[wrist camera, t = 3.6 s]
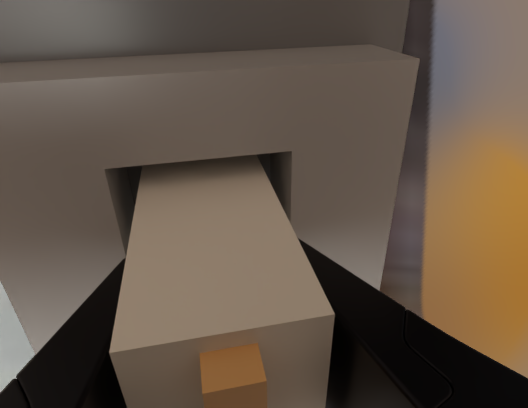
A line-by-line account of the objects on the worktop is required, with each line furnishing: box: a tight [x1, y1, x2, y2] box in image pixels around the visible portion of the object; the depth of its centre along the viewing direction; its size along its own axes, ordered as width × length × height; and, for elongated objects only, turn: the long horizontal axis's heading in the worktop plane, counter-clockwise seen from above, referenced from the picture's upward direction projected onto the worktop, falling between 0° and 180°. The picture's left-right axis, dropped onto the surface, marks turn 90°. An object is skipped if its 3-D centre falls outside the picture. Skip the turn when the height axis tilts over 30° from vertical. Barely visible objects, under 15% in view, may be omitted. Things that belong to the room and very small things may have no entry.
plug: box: [109, 155, 335, 408], centre depth 9 cm, size 3×3×8 cm
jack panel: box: [0, 0, 420, 354], centre depth 15 cm, size 24×12×5 cm, turn 1°
